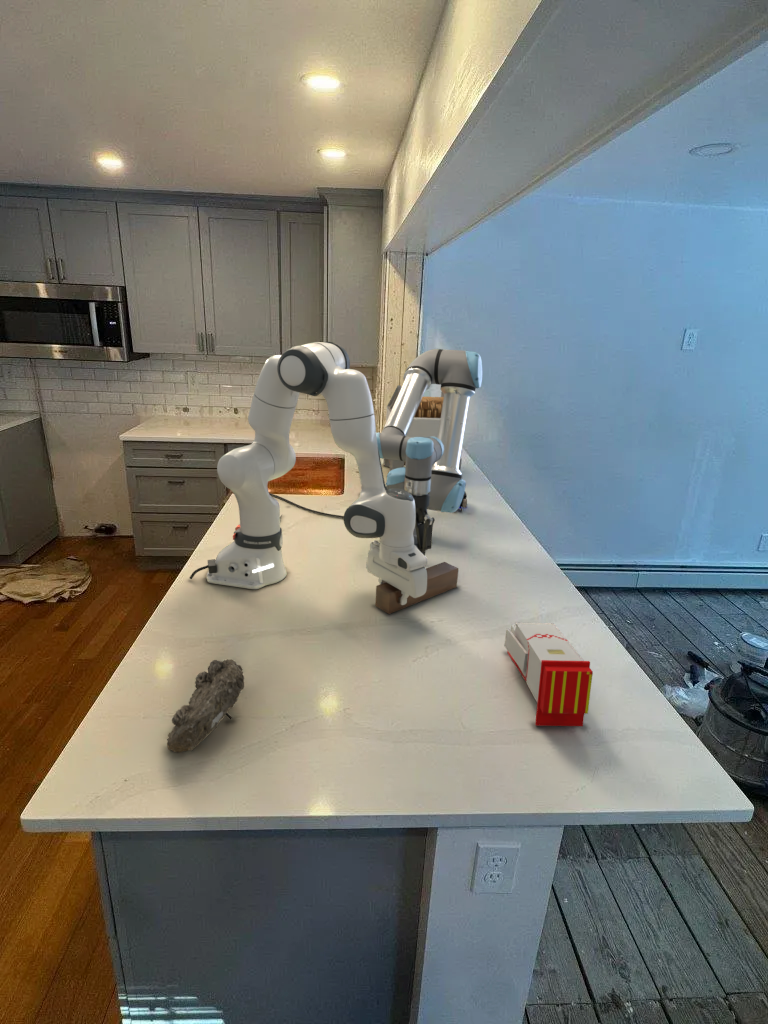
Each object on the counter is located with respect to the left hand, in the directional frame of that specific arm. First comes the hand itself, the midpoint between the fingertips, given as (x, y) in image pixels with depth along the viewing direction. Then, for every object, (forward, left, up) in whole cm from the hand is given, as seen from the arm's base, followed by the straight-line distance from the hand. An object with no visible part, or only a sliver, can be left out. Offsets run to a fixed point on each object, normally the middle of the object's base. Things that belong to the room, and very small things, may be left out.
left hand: (393, 598), depth 151 cm
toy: (+32, -31, -2) cm, 44 cm away
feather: (-42, +60, -2) cm, 74 cm away
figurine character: (+25, +83, -2) cm, 87 cm away
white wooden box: (+12, +131, -2) cm, 132 cm away
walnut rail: (+7, +6, -2) cm, 9 cm away
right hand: (+5, +21, 0) cm, 22 cm away
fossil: (-34, -46, -2) cm, 58 cm away
